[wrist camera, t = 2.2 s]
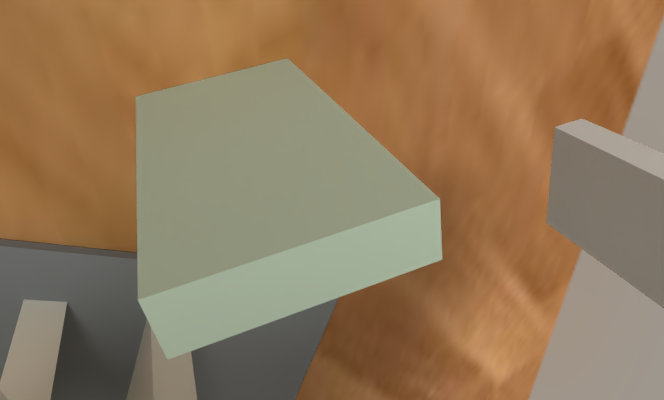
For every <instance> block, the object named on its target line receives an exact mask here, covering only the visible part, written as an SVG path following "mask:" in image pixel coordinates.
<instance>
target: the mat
mask: <svg viewBox="0 0 664 400" xmlns="http://www.w3.org/2000/svg"><path fill="white" fill-rule="evenodd" d="M338 298H339V297H338ZM338 298H336V299H333V300H330V301H327V302H325V303H322V304H319V305H316V306H314V307H311V308H308V309H305V310H303V311H300V312H297V313H294V314H292V315H289V316H286V317H283V318H281V319H278V320H275V321H272V322H270V323H267V324H264V325H261V326H259V327H256V328H253V329H250V330H248V331H245V332H242V333H240V334H237V335H234V336H231V337H229V338H226V339H223V340H220V341H218V342H215V343H212V344H209V345H207V346H204V347H201V348H198V349H196V350H193V351H191V355H192V363H193V370H194V378H195V386H196V393H197V400H295V398H296V396H297V394H298V391H299V389H300V387H301V384H302V382H303V380H304V377H305V375H306V373H307V370H308V368H309V366H310V363H311V361H312V359H313V356H314V354H315V352H316V349H317V347H318V345H319V343H320V340H321V338H322V336H323V333H324V331H325V329H326V326H327V324H328V322H329V319H330V317H331V315H332V312H333V310H334V308H335V305H336V303H337V301H338ZM23 300H41V301H58V302H67V306H66V312H65V318H64V324H63V329H62V335H61V341H60V347H59V353H58V358H57V364H56V370H55V376H54V381H53V387H52V393H51V399H50V400H126V398H127V394H128V390H129V387H130V383H131V379H132V375H133V371H134V367H135V363H136V359H137V355H138V352H139V348H140V344H141V340H142V336H143V332H144V328H145V324H146V320H147V318H146V316H145V314H144V312H143V310H142V308H141V306H140V304H139V302H138V278H137V253H133V252H124V251H114V250H104V249H95V248H85V247H75V246H65V245H56V244H46V243H36V242H27V241H17V240H7V239H0V380H1V377H2V373H3V370H4V366H5V363H6V359H7V356H8V352H9V349H10V345H11V342H12V339H13V335H14V332H15V328H16V325H17V321H18V318H19V314H20V311H21V307H22V304H23Z"/></svg>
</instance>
